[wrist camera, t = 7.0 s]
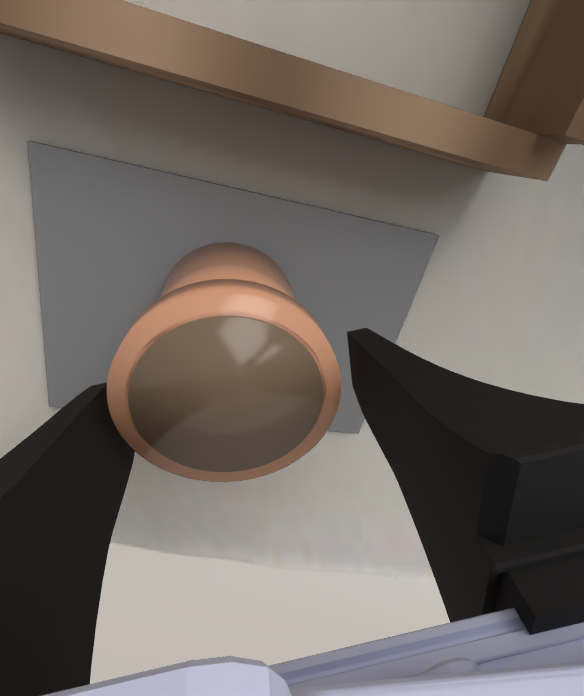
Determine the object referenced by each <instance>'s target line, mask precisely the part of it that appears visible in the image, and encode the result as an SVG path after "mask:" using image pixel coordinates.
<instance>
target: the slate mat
mask: <svg viewBox="0 0 584 696" xmlns="http://www.w3.org/2000/svg"><path fill="white" fill-rule="evenodd" d="M27 142H28V154H29V167H30V179H31V191H32V203H33V215H34V228H35V240H36V252H37V264H38V276H39V289H40V301H41V313H42V325H43V337H44V350H45V362H46V374H47V386H48V398H49V406H52V407H64V406H65V405H67V404H68V403H69V402H70V401H71V400H73V399H74V398H75V397H76V396H78V395H79V394H80V393H81V392H83V391H84V390H85V389H87V388H88V387H90V386H92V385H97V384H101V383H106V382H107V380H108V373H109V370H110V367H111V364H112V361H113V359H114V357H115V355H116V353H117V351H118V349H119V347H120V345H121V343H122V341H123V339H124V337H125V335H126V333H127V331H128V329H129V327H130V326H131V325H132V323H133V322H134V320H135V319H136V318H137V316H138V315H139V314H140V313H141V312H142V311H143V310H144V309H145V308H146V307H148V306H149V305H150V304H152V303H153V302H154V301H156V300H157V299H158V298H159V296H160V294H161V291H162V289H163V286H164V284H165V281H166V279H167V277H168V275H169V273H170V271H171V270H172V269H173V267H174V266H175V265H176V264H177V263H178V262H179V261H180V260H181V259H182V258H183V257H184V256H185V255H187V254H188V253H190V252H191V251H193V250H195V249H197V248H200V247H202V246H205V245H209V244H213V243H221V242H233V243H239V244H244V245H247V246H251V247H253V248H255V249H258V250H260V251H261V252H263V253H265V254H266V255H267V256H269V257H270V258H271V259H273V260H274V261H275V262H276V263H277V265H278V266H279V267H280V268H281V269H282V271H283V272H284V274H285V276H286V278H287V279H288V282H289V284H290V287H291V289H292V292H293V294H294V297H295V299H296V301H297V302H299V303H300V304H301V305H303V306H304V307H305V308H306V309H307V310H308V311H309V312H310V313H311V314H312V315H313V316H314V318H315V319H316V320H317V322H318V323H319V325H320V326H321V328H322V330H323V332H324V333H325V335H326V337H327V339H328V342H329V344H330V346H331V348H332V350H333V352H334V354H335V356H336V359H337V362H338V365H339V369H340V375H341V397H340V403H339V406H338V410H337V413H336V415H335V418H334V420H333V422H332V424H331V426H330V427H329V429H328V430H327V431H335V432H346V433H359V431H360V429H361V426H362V424H363V421H364V419H365V417H364V415H363V413H362V411H361V408H360V405H359V403H358V400H357V397H356V395H355V392H354V389H353V386H352V378H351V368H350V358H349V348H348V338H347V332H348V331H353V330H358V329H363V328H368V329H370V330H372V331H374V332H375V333H377V334H379V335H380V336H382V337H384V338H385V339H387V340H389V341H391V342H392V343H394V344H395V343H396V340H397V338H398V335H399V333H400V330H401V328H402V326H403V323H404V321H405V318H406V316H407V313H408V311H409V308H410V306H411V303H412V301H413V299H414V296H415V294H416V291H417V289H418V286H419V284H420V281H421V279H422V277H423V274H424V272H425V269H426V267H427V264H428V262H429V259H430V257H431V254H432V252H433V250H434V247H435V245H436V242H437V240H438V237H439V236H438V235H436V234H432V233H428V232H423V231H419V230H415V229H410V228H406V227H402V226H397V225H393V224H389V223H384V222H380V221H376V220H371V219H367V218H362V217H358V216H354V215H349V214H345V213H341V212H336V211H332V210H328V209H323V208H319V207H315V206H310V205H306V204H302V203H297V202H293V201H289V200H284V199H280V198H276V197H271V196H267V195H263V194H258V193H254V192H250V191H245V190H241V189H237V188H232V187H228V186H224V185H219V184H215V183H211V182H206V181H202V180H198V179H193V178H189V177H185V176H180V175H176V174H172V173H167V172H163V171H159V170H154V169H150V168H146V167H141V166H137V165H133V164H128V163H124V162H120V161H115V160H111V159H107V158H102V157H98V156H94V155H89V154H85V153H81V152H76V151H72V150H67V149H63V148H59V147H54V146H50V145H46V144H41V143H37V142H33V141H27Z"/></svg>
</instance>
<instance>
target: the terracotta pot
mask: <svg viewBox="0 0 584 696" xmlns="http://www.w3.org/2000/svg"><path fill="white" fill-rule="evenodd" d="M340 397H341V375H340V369H339V365H338V362H337V359H336V356H335V354H334V352H333V350H332V348H331V346H330V344H329V342H328V339H327V337H326V335H325V333H324V332H323V330H322V328H321V326H320V325H319V323H318V322H317V320H316V319H315V318H314V316H313V315H312V314H311V313H310V312H309V311H308V310H307V309H306V308H305V307H304V306H303V305H301V304H300V303H299V302H297V301H296V299H295V297H294V294H293V292H292V289H291V287H290V284H289V282H288V279H287V278H286V276H285V274H284V272H283V271H282V269H281V268H280V267H279V266H278V265H277V263H276V262H275V261H274V260H273V259H271V258H270V257H269V256H267V255H266V254H265V253H263V252H261V251H260V250H258V249H255V248H253V247H251V246H247V245H244V244H239V243H233V242H221V243H213V244H209V245H205V246H202V247H200V248H197V249H195V250H193V251H191V252H190V253H188V254H187V255H185V256H184V257H183V258H182V259H181V260H180V261H179V262H178V263H177V264H176V265H175V266H174V267H173V269H172V270H171V271H170V273H169V275H168V277H167V279H166V281H165V284H164V286H163V289H162V291H161V294H160V296H159V298H158V299H157V300H156V301H154V302H153V303H152V304H150V305H149V306H148V307H146V308H145V309H144V310H143V311H142V312H141V313H140V314H139V315H138V316H137V318H136V319H135V320H134V322H133V323H132V325H131V326H130V327H129V329H128V331H127V333H126V335H125V337H124V339H123V341H122V343H121V345H120V347H119V349H118V351H117V353H116V355H115V357H114V359H113V361H112V364H111V367H110V370H109V373H108V380H107V402H108V406H109V411H110V414H111V417H112V419H113V422H114V424H115V426H116V428H117V429H118V431H119V433H120V434H121V436H122V437H123V438H124V440H125V441H126V442H127V443H128V445H129V446H130V447H131V448H133V449H134V450H135V451H136V452H137V453H138V454H139V455H140V456H142V457H143V458H145V459H146V460H147V461H149V462H150V463H152V464H154V465H156V466H157V467H159V468H161V469H163V470H166V471H168V472H170V473H173V474H176V475H179V476H182V477H186V478H190V479H195V480H201V481H211V482H231V481H241V480H247V479H253V478H256V477H260V476H264V475H267V474H270V473H273V472H275V471H278V470H280V469H282V468H284V467H286V466H288V465H290V464H291V463H293V462H295V461H296V460H298V459H299V458H301V457H302V456H303V455H305V454H306V453H307V452H309V451H310V450H311V449H312V448H313V447H314V446H315V445H316V444H317V443H318V442H319V441H320V440H321V438H322V437H323V436H324V435H325V433H326V432H327V430H328V429H329V427H330V426H331V424H332V422H333V420H334V418H335V415H336V413H337V410H338V406H339V403H340Z"/></svg>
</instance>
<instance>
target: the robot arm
mask: <svg viewBox="0 0 584 696" xmlns="http://www.w3.org/2000/svg"><path fill="white" fill-rule="evenodd" d="M347 338H348V348H349V358H350V368H351V378H352V386H353V389H354V392H355V395H356V397H357V400H358V403H359V405H360V408H361V411H362V413H363V415H364V417H365V419H366V421H367V423H368V425H369V427H370V429H371V430H372V432H373V434H374V436H375V438H376V440H377V442H378V444H379V446H380V447H381V449H382V451H383V453H384V455H385V457H386V459H387V461H388V463H389V465H390V466H391V468H392V470H393V472H394V475H395V477H396V479H397V481H398V483H399V486H400V488H401V491H402V493H403V496H404V498H405V501H406V503H407V506H408V508H409V511H410V513H411V516H412V518H413V521H414V524H415V526H416V529H417V531H418V534H419V537H420V539H421V542H422V544H423V547H424V550H425V553H426V555H427V558H428V561H429V564H430V566H431V569H432V572H433V574H434V577H435V580H436V583H437V585H438V588H439V591H440V594H441V597H442V600H443V603H444V605H445V608H446V611H447V614H448V617H449V619H450V623H447V624H443V625H438V626H434V627H430V628H426V629H422V630H417V631H413V632H409V633H405V634H401V635H397V636H392V637H388V638H384V639H380V640H375V641H371V642H367V643H363V644H359V645H354V646H350V647H346V648H342V649H338V650H333V651H329V652H325V653H321V654H316V655H312V656H308V657H304V658H300V659H295V660H291V661H287V662H283V663H279V664H274V665H270V666H267V665H266V664H265V663H264V662H262V661H257V660H252V659H245V658H239V657H233V656H226V657H217V658H209V659H200V660H191V661H187V662H182V663H178V664H174V665H170V666H166V667H161V668H157V669H153V670H149V671H145V672H140V673H136V674H132V675H127V676H123V677H119V678H115V679H110V680H107V681H102V682H98V683H94V684H90V673H91V663H92V654H93V646H94V638H95V628H96V621H97V614H98V608H99V601H100V594H101V588H102V581H103V576H104V570H105V565H106V559H107V554H108V548H109V544H110V540H111V536H112V532H113V529H114V525H115V522H116V519H117V515H118V512H119V509H120V505H121V502H122V499H123V495H124V492H125V489H126V485H127V482H128V478H129V475H130V471H131V468H132V464H133V459H134V452H135V450H134V449H133V448H131V447H130V446H129V445H128V443H127V442H126V441H125V440H124V438H123V437H122V436H121V434H120V433H119V431H118V429H117V428H116V426H115V424H114V422H113V419H112V417H111V414H110V411H109V406H108V402H107V382H106V383H101V384H97V385H92V386H90V387H88V388H87V389H85V390H84V391H83V392H81V393H80V394H79V395H78V396H76V397H75V398H74V399H73V400H71V401H70V402H69V403H68V404H67V405H65V406H64V407H63V408H62V409H61V410H59V411H58V412H57V413H56V414H55V415H54V416H52V417H51V418H50V419H49V420H48V421H47V422H45V423H44V424H43V425H42V426H41V427H39V428H38V429H37V430H36V431H35V432H33V433H32V434H31V435H30V436H28V437H27V438H26V439H25V440H23V441H22V442H21V443H20V444H18V445H17V446H16V447H15V448H13V449H12V450H11V451H10V452H8V453H7V454H6V455H5V456H3V457H2V458H1V459H0V696H584V404H578V403H571V402H564V401H558V400H553V399H548V398H543V397H538V396H533V395H529V394H524V393H520V392H516V391H512V390H508V389H504V388H501V387H497V386H493V385H490V384H486V383H483V382H480V381H477V380H474V379H471V378H468V377H465V376H463V375H460V374H457V373H454V372H452V371H449V370H447V369H444V368H442V367H440V366H437V365H435V364H433V363H431V362H429V361H427V360H424V359H422V358H420V357H418V356H416V355H414V354H412V353H410V352H409V351H407V350H405V349H403V348H401V347H399V346H398V345H396V344H394V343H392V342H391V341H389V340H387V339H385V338H384V337H382V336H380V335H379V334H377V333H375V332H374V331H372V330H370V329H368V328H363V329H358V330H353V331H348V332H347Z"/></svg>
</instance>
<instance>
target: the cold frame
mask: <svg viewBox="0 0 584 696" xmlns="http://www.w3.org/2000/svg"><path fill="white" fill-rule="evenodd" d="M0 33H3V34H7V35H10V36H14V37H17V38H21V39H24V40H28V41H31V42H35V43H38V44H42V45H45V46H49V47H52V48H56V49H59V50H63V51H66V52H70V53H73V54H77V55H80V56H84V57H87V58H91V59H94V60H98V61H102V62H105V63H109V64H112V65H116V66H119V67H123V68H126V69H130V70H133V71H137V72H140V73H144V74H147V75H151V76H154V77H158V78H161V79H165V80H168V81H172V82H175V83H179V84H182V85H186V86H189V87H193V88H196V89H200V90H204V91H207V92H211V93H214V94H218V95H221V96H225V97H228V98H232V99H235V100H239V101H242V102H246V103H249V104H253V105H256V106H260V107H263V108H267V109H270V110H274V111H277V112H281V113H284V114H288V115H291V116H295V117H299V118H302V119H306V120H309V121H313V122H316V123H320V124H323V125H327V126H330V127H334V128H337V129H341V130H344V131H348V132H351V133H355V134H358V135H362V136H365V137H369V138H372V139H376V140H379V141H383V142H386V143H390V144H393V145H397V146H401V147H404V148H408V149H411V150H415V151H418V152H422V153H425V154H429V155H432V156H436V157H439V158H443V159H446V160H450V161H453V162H457V163H460V164H464V165H467V166H471V167H474V168H478V169H481V170H485V171H488V172H494V173H501V174H507V175H513V176H519V177H525V178H531V179H537V180H543V181H548V180H549V178H550V176H551V174H552V172H553V170H554V168H555V166H556V164H557V162H558V160H559V158H560V156H561V154H562V152H563V150H564V148H565V146H566V144H583V145H584V0H531V3H530V5H529V8H528V10H527V12H526V15H525V17H524V20H523V22H522V25H521V27H520V30H519V32H518V35H517V37H516V40H515V42H514V45H513V47H512V50H511V52H510V55H509V57H508V59H507V62H506V64H505V67H504V69H503V72H502V74H501V77H500V79H499V82H498V84H497V87H496V89H495V92H494V94H493V97H492V99H491V101H490V104H489V106H488V109H487V111H486V114H485V116H484V117H482V116H479V115H476V114H473V113H470V112H466V111H463V110H460V109H457V108H454V107H451V106H448V105H445V104H442V103H438V102H435V101H432V100H429V99H426V98H423V97H420V96H417V95H414V94H411V93H407V92H404V91H401V90H398V89H395V88H392V87H389V86H386V85H383V84H380V83H376V82H373V81H370V80H367V79H364V78H361V77H358V76H355V75H352V74H348V73H345V72H342V71H339V70H336V69H333V68H330V67H327V66H324V65H321V64H317V63H314V62H311V61H308V60H305V59H302V58H299V57H296V56H293V55H290V54H286V53H283V52H280V51H277V50H274V49H271V48H268V47H265V46H262V45H258V44H255V43H252V42H249V41H246V40H243V39H240V38H237V37H234V36H231V35H227V34H224V33H221V32H218V31H215V30H212V29H209V28H206V27H203V26H199V25H196V24H193V23H190V22H187V21H184V20H181V19H178V18H175V17H172V16H168V15H165V14H162V13H159V12H156V11H153V10H150V9H147V8H144V7H141V6H137V5H134V4H131V3H128V2H125V1H122V0H0Z"/></svg>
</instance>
